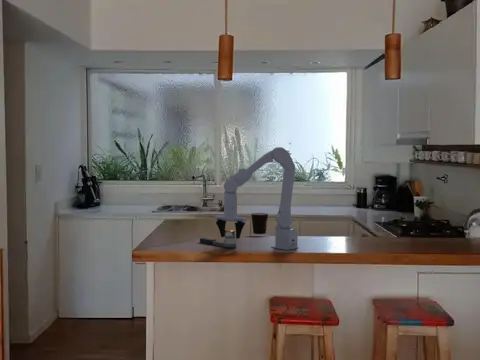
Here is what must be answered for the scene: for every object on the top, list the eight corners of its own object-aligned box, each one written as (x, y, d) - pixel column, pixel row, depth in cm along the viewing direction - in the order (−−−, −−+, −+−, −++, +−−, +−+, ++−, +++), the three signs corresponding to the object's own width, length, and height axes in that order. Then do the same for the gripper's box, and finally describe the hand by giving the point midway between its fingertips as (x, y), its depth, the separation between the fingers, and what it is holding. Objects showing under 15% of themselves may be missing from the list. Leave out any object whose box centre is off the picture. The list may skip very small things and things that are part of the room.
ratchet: (238, 247, 240) (238, 238, 240) (230, 249, 236) (230, 239, 236) (206, 241, 255) (206, 232, 255) (197, 242, 252) (197, 233, 252)
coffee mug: (261, 235, 276) (261, 215, 275) (247, 233, 281) (247, 213, 280) (274, 232, 285) (274, 213, 284) (260, 230, 290) (260, 211, 290)
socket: (236, 243, 238) (236, 231, 238) (226, 244, 237) (226, 231, 237) (234, 241, 243) (234, 229, 243) (223, 242, 242) (223, 230, 242)
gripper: (249, 206, 239) (249, 237, 240) (220, 205, 246) (220, 235, 247) (241, 208, 233) (241, 240, 234) (212, 206, 240) (212, 237, 241)
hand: (230, 237), depth 240 cm, fingers open, 7 cm apart
